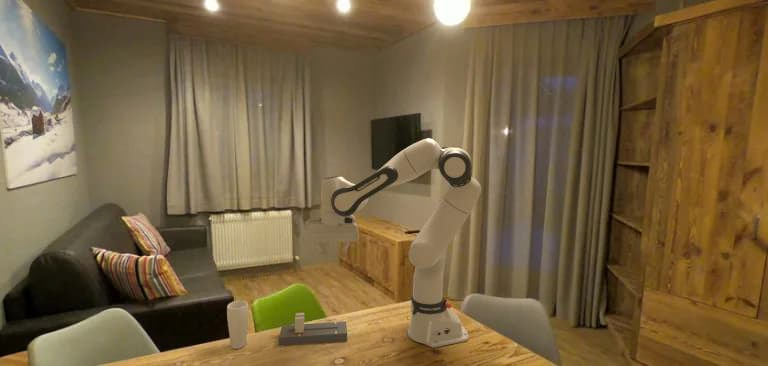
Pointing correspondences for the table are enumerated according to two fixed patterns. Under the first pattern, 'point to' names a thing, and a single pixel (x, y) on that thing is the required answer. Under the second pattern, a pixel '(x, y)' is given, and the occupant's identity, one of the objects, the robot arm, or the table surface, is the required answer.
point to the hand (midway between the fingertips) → (332, 253)
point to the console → (313, 333)
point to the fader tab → (299, 322)
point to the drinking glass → (237, 323)
